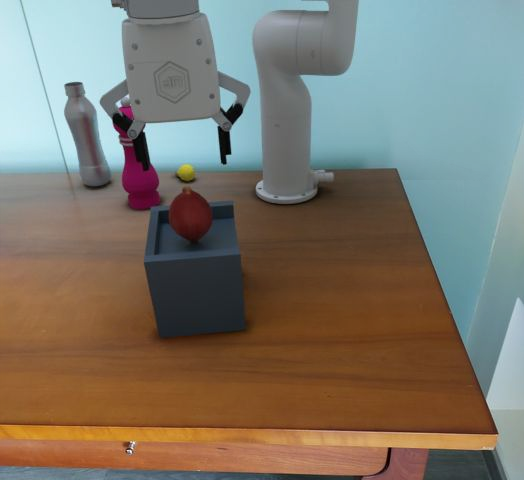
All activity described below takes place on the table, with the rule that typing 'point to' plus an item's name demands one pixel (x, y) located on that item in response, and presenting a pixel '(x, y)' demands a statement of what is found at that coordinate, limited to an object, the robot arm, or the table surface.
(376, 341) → the table surface
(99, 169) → the plastic bottle
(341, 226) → the table surface
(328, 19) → the robot arm
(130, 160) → the pepper mill
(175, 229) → the onion
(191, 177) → the yellow rounded piece
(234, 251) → the blue storage bin
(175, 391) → the table surface
